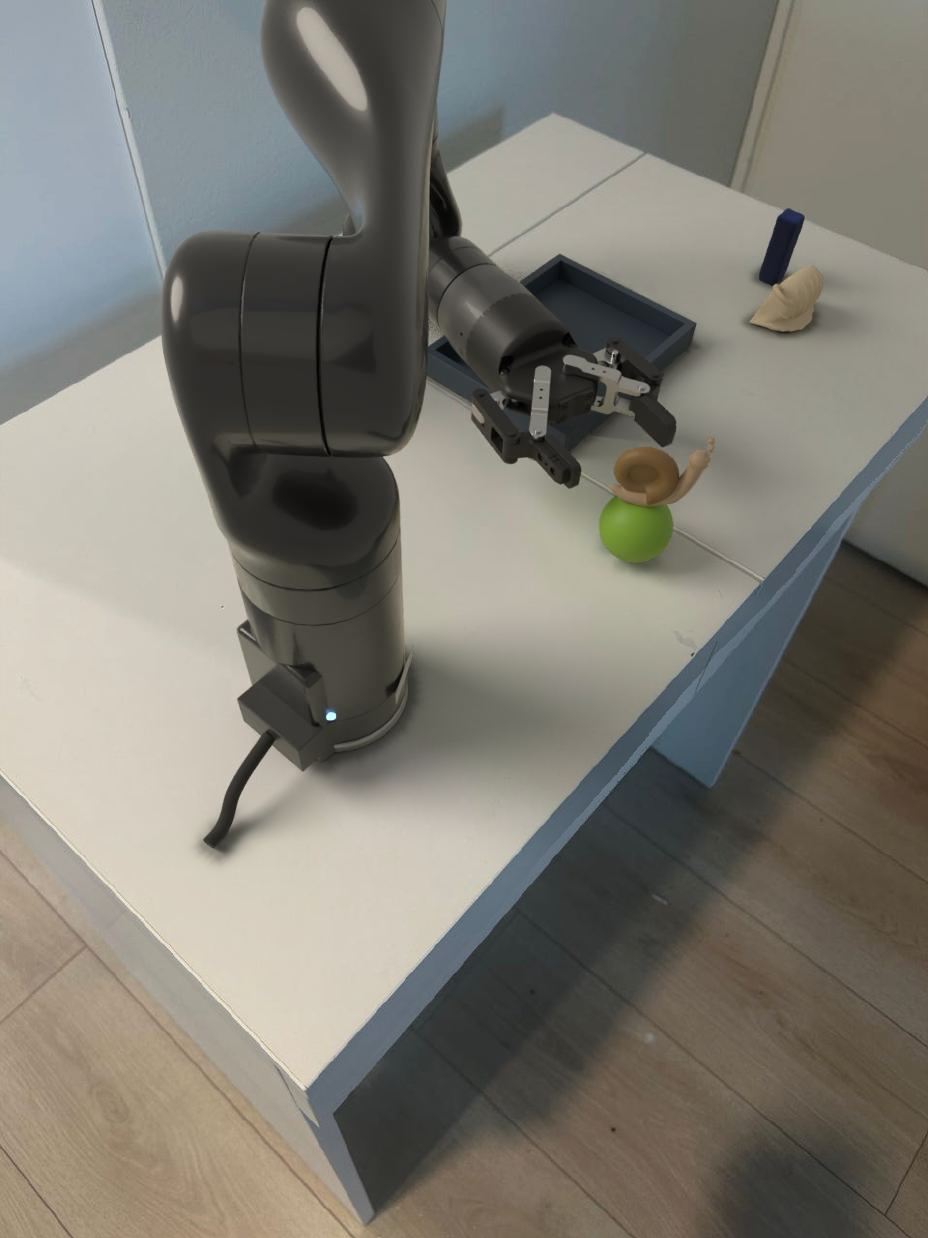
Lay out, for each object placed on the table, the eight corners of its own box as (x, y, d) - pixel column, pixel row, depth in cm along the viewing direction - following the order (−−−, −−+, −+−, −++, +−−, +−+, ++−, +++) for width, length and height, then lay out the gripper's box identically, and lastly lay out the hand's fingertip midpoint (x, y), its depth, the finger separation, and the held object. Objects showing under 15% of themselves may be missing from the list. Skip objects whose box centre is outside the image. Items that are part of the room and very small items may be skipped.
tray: (562, 457, 78) (566, 435, 76) (422, 372, 84) (422, 349, 82) (691, 345, 87) (697, 322, 85) (556, 275, 93) (559, 252, 91)
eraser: (766, 268, 94) (787, 205, 89) (786, 278, 94) (808, 214, 88) (755, 278, 93) (775, 214, 88) (774, 288, 93) (796, 224, 87)
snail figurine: (675, 585, 70) (714, 471, 61) (590, 570, 71) (615, 454, 61) (680, 531, 74) (718, 414, 64) (598, 517, 74) (624, 399, 64)
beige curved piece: (825, 313, 90) (845, 263, 86) (772, 349, 87) (790, 299, 83) (790, 293, 92) (808, 243, 88) (737, 327, 89) (753, 277, 84)
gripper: (426, 321, 71) (549, 454, 63) (580, 266, 75) (713, 384, 68) (426, 398, 77) (538, 529, 69) (569, 343, 82) (689, 460, 74)
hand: (624, 457), depth 68 cm, fingers open, 8 cm apart
